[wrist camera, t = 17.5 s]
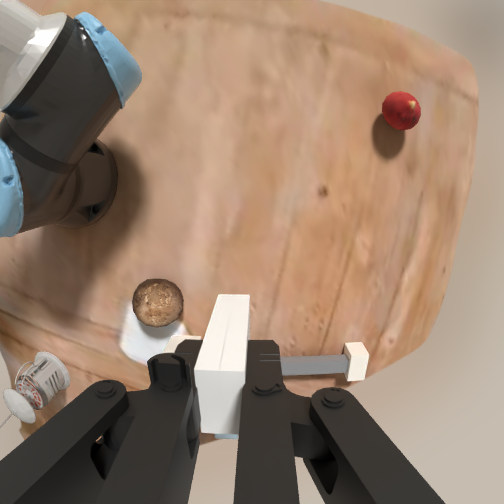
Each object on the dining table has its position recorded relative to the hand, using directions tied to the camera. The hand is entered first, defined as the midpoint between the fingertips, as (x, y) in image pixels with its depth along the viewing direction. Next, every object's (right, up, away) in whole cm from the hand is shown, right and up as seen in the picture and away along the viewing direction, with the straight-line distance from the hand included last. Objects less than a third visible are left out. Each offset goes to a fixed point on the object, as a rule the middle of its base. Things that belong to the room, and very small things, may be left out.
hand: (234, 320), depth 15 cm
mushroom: (-13, -4, +35) cm, 37 cm away
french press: (-41, -21, +39) cm, 61 cm away
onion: (+23, +25, +28) cm, 43 cm away
